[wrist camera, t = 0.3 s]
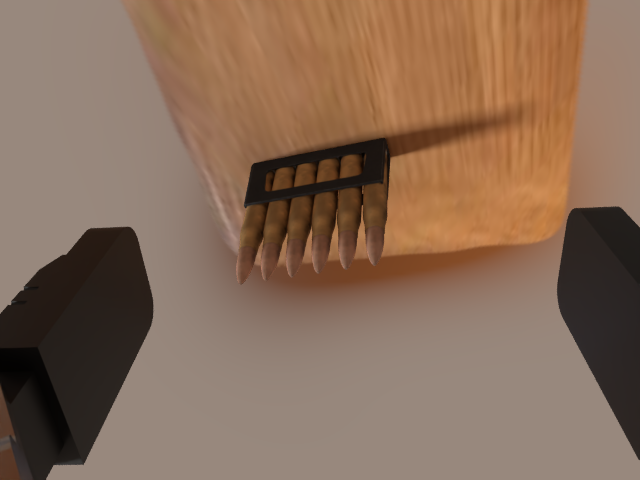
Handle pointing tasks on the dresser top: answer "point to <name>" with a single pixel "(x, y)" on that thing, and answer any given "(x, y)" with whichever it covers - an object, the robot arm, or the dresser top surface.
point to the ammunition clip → (315, 206)
